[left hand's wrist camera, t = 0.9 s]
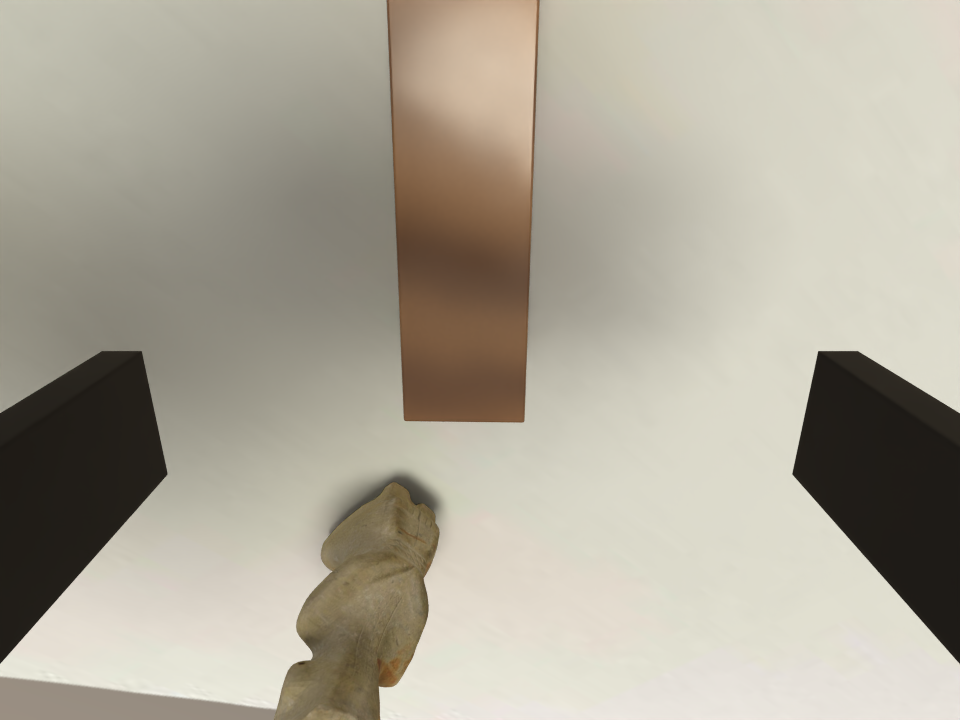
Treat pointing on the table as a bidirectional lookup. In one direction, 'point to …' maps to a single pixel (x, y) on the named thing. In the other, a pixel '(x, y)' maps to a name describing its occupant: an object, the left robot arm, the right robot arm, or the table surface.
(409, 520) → the sculpture
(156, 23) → the table surface
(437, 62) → the beam
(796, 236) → the table surface
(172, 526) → the table surface
